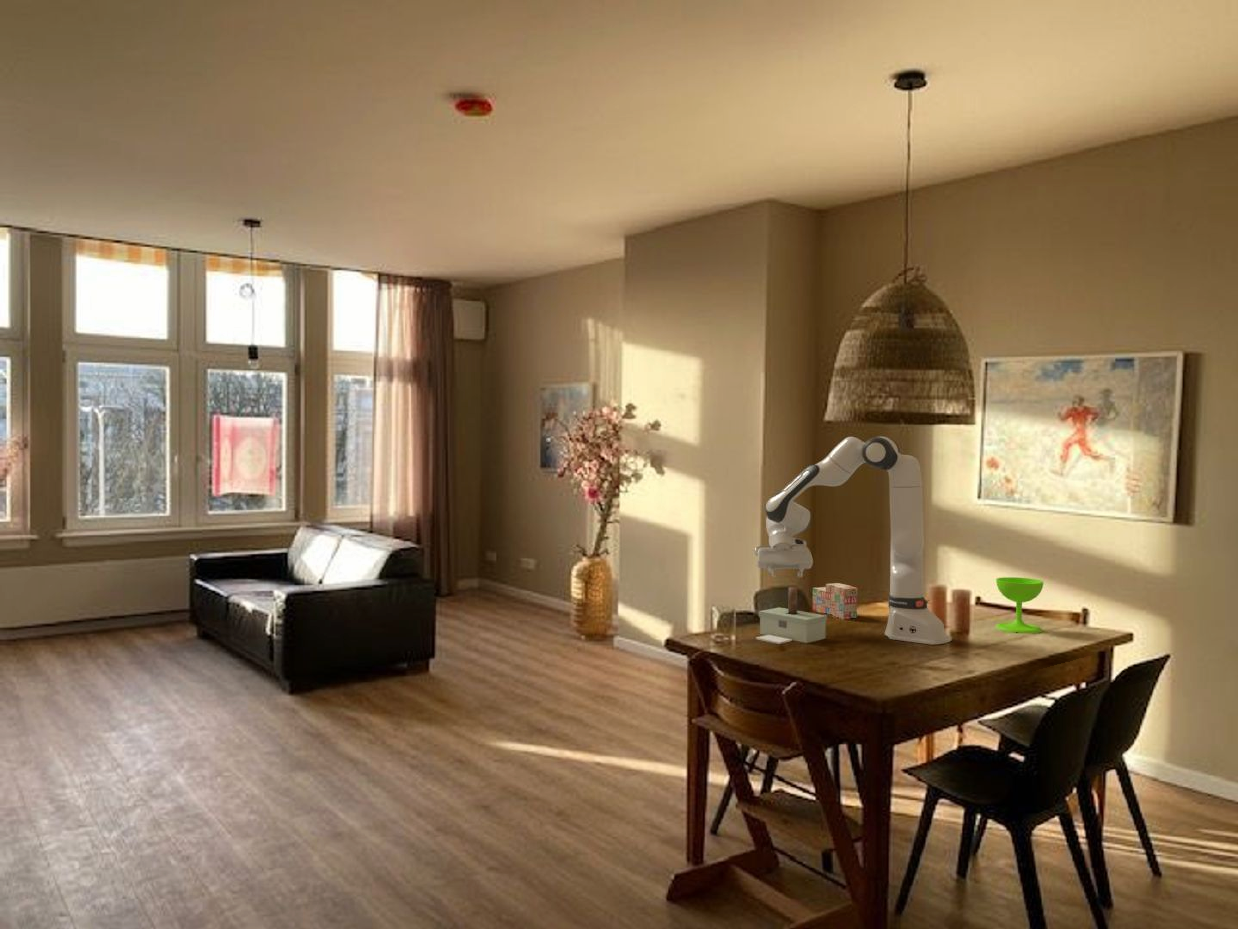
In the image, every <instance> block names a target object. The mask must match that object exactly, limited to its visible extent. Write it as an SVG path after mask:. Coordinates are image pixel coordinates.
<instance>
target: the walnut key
mask: <svg viewBox="0 0 1238 929" xmlns="http://www.w3.org/2000/svg"><path fill="white" fill-rule="evenodd" d="M787 594H788V596H787V597H788V598H787V599H788V603H787V605H788V607H787V609H788V614H791V615H796V614H797V611H798V587H795V586H793V587H792V586H789V587H788V592H787Z"/></svg>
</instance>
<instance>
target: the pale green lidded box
mask: <svg viewBox="0 0 1238 929" xmlns="http://www.w3.org/2000/svg"><path fill="white" fill-rule="evenodd" d="M758 617H759V634H760V635H763V636H765V635H772V636H777V637H782V638H787V639H792V641H794V642H799V643H805V644H808V643H813V642H817V641H821V640H824V639H826V627H827V626H826V625H827V624H826V623H827V621H828V615H827V614H819V613H813V612H807V611H803V610H797V614H796V615H791V614H788V608H785V607H774V608H769V609H763V610H759V611H758Z"/></svg>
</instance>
